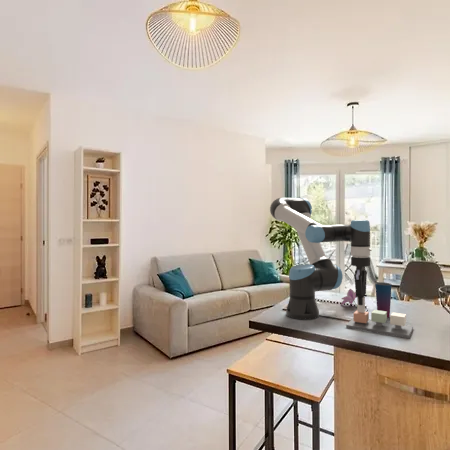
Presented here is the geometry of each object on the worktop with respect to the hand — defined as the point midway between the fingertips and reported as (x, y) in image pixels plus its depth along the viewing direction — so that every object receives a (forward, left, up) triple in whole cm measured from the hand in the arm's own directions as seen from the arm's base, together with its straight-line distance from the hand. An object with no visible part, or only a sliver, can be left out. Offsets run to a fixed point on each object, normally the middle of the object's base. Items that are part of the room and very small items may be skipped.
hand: (361, 312), depth 139 cm
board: (+7, 0, -6) cm, 9 cm away
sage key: (+7, 0, -3) cm, 7 cm away
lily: (-11, +29, -6) cm, 31 cm away
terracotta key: (0, 0, -4) cm, 4 cm away
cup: (+5, +19, -6) cm, 21 cm away
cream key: (+14, 0, -3) cm, 14 cm away
